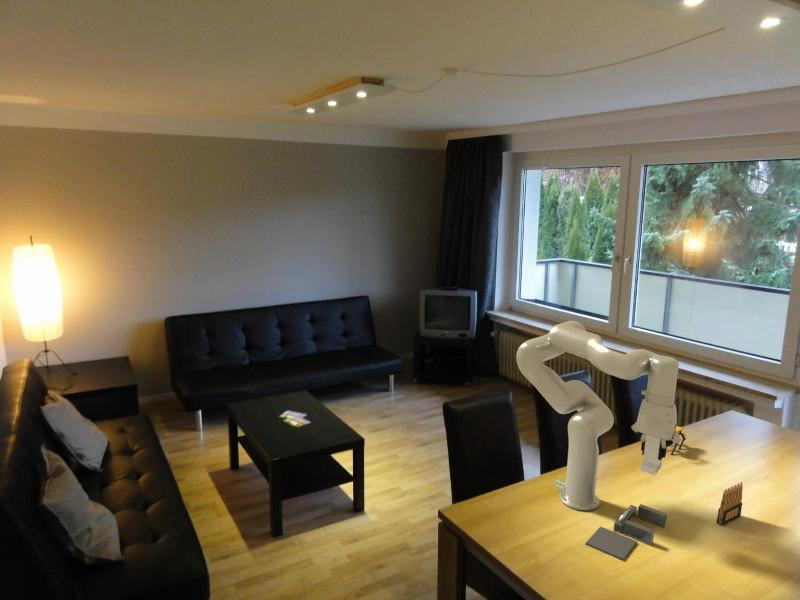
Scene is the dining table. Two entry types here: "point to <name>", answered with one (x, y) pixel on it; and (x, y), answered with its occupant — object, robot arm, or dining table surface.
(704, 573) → the dining table surface
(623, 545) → the mat
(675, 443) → the robot dog
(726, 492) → the ammunition clip
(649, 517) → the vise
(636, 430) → the robot arm
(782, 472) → the dining table surface
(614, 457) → the dining table surface
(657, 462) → the steel post
